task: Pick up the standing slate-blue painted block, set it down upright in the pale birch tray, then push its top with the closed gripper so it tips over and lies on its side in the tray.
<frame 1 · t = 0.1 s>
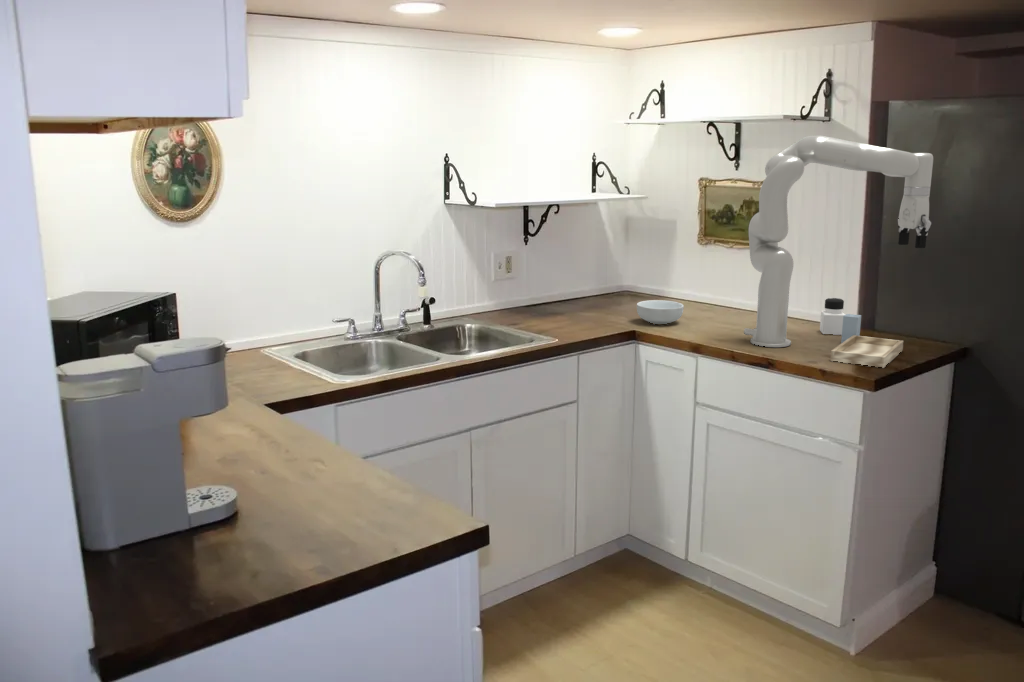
hand: (911, 246, 270), 31 cm above the worktop, tool pointing down, fingers open, 9 cm apart
medicine bottle: (831, 333, 289), on the worktop
tray: (867, 355, 257), on the worktop
cereal bowl: (659, 323, 308), on the worktop
block: (850, 342, 275), on the worktop
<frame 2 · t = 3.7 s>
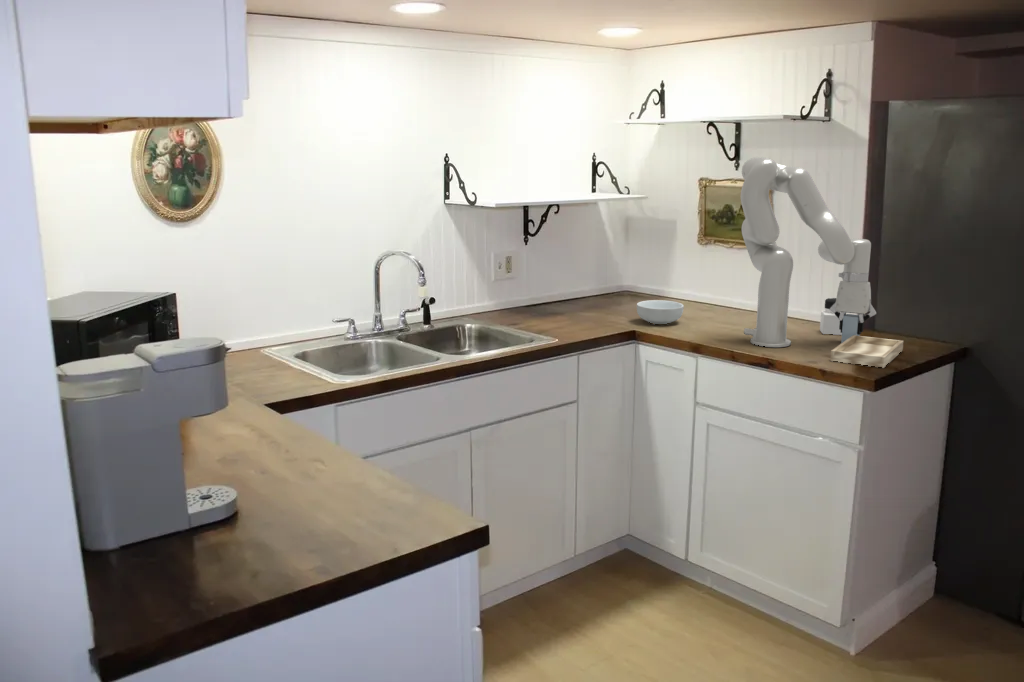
hand: (850, 332, 274), 3 cm above the worktop, tool pointing down, fingers closed on block, 4 cm apart
block: (850, 342, 275), on the worktop, touching gripper
everything else where it was.
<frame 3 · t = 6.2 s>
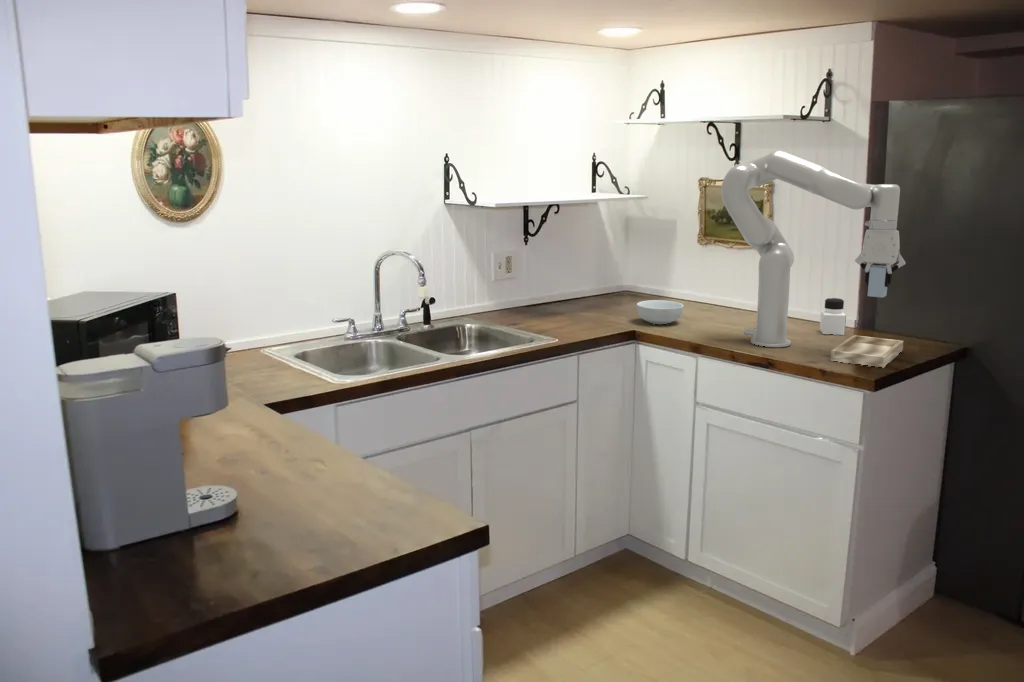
hand: (877, 284, 257), 21 cm above the worktop, tool pointing down, fingers closed on block, 4 cm apart
block: (876, 295, 258), point 18 cm above the worktop, touching gripper
everything else where it was.
when the fingers open (5 cm above the worktop, at t = 8.9 s): block stays where it is, resting on tray.
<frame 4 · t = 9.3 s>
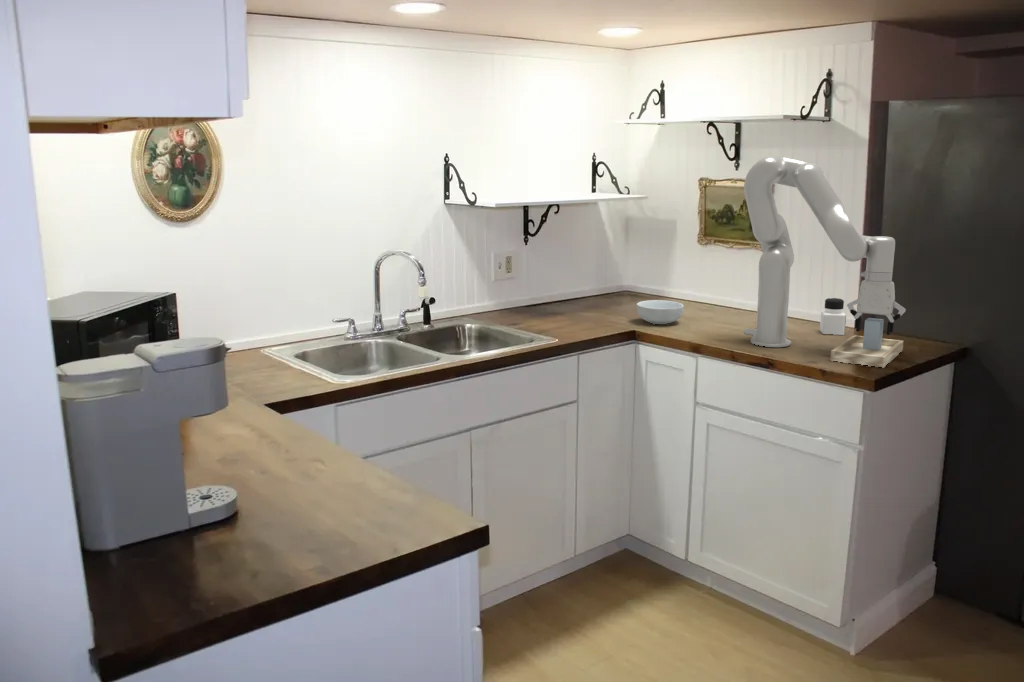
hand: (873, 332, 260), 6 cm above the worktop, tool pointing down, fingers open, 8 cm apart
block: (871, 348, 261), point 1 cm above the worktop, touching tray
everything else where it was.
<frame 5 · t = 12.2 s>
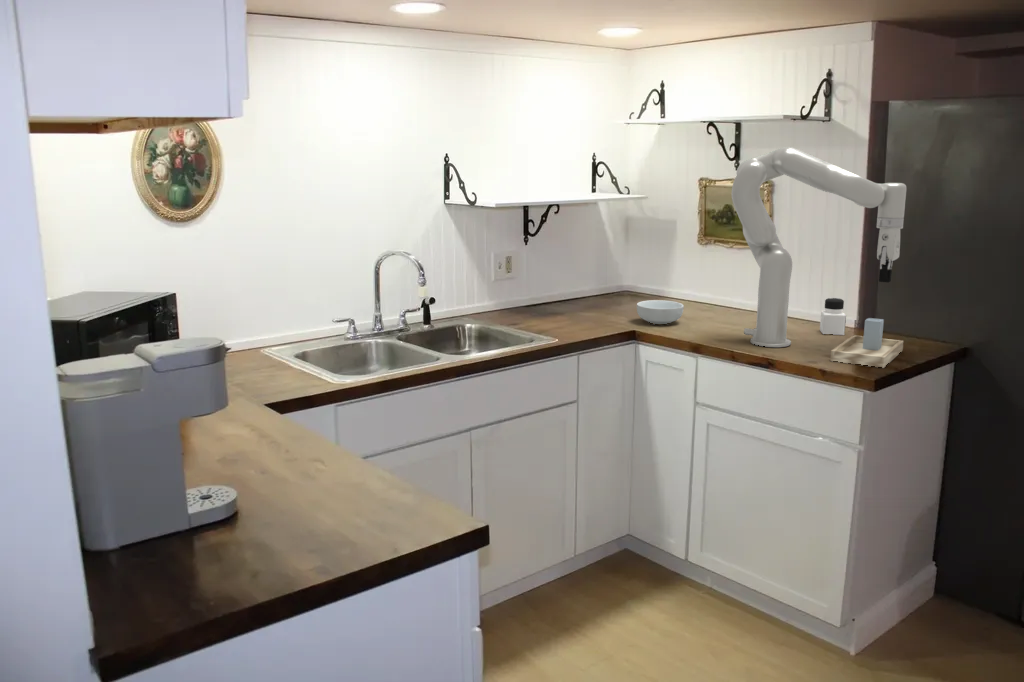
hand: (884, 281, 264), 21 cm above the worktop, tool pointing down, fingers closed
nothing on the worktop moved.
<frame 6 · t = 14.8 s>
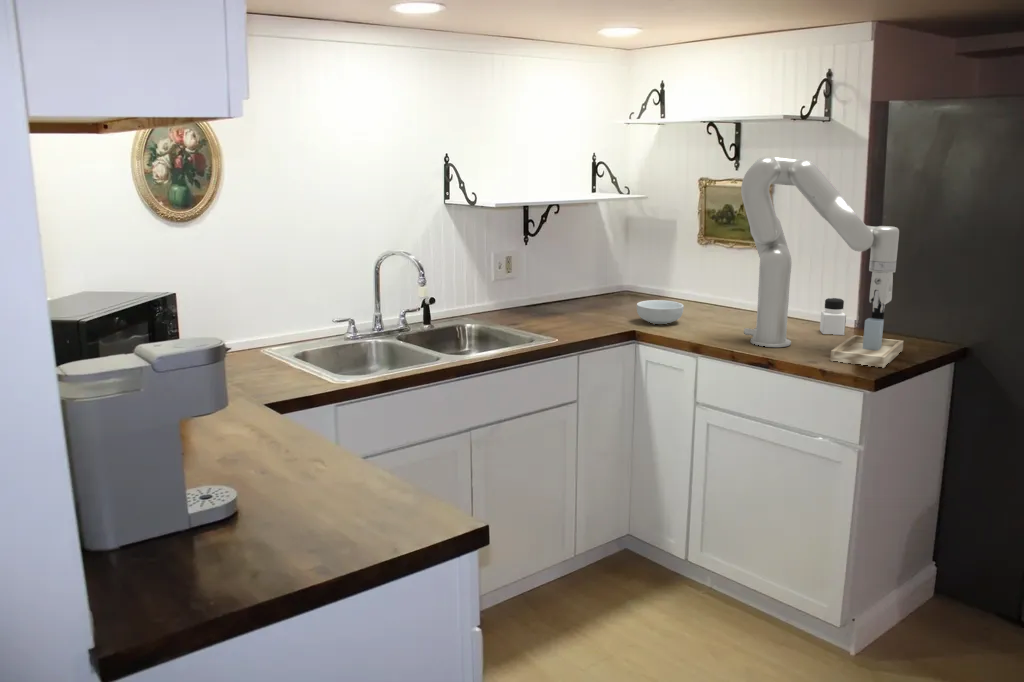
hand: (877, 324, 263), 8 cm above the worktop, tool pointing down, fingers closed
block: (871, 348, 261), point 1 cm above the worktop, touching gripper, tray
everything else where it was.
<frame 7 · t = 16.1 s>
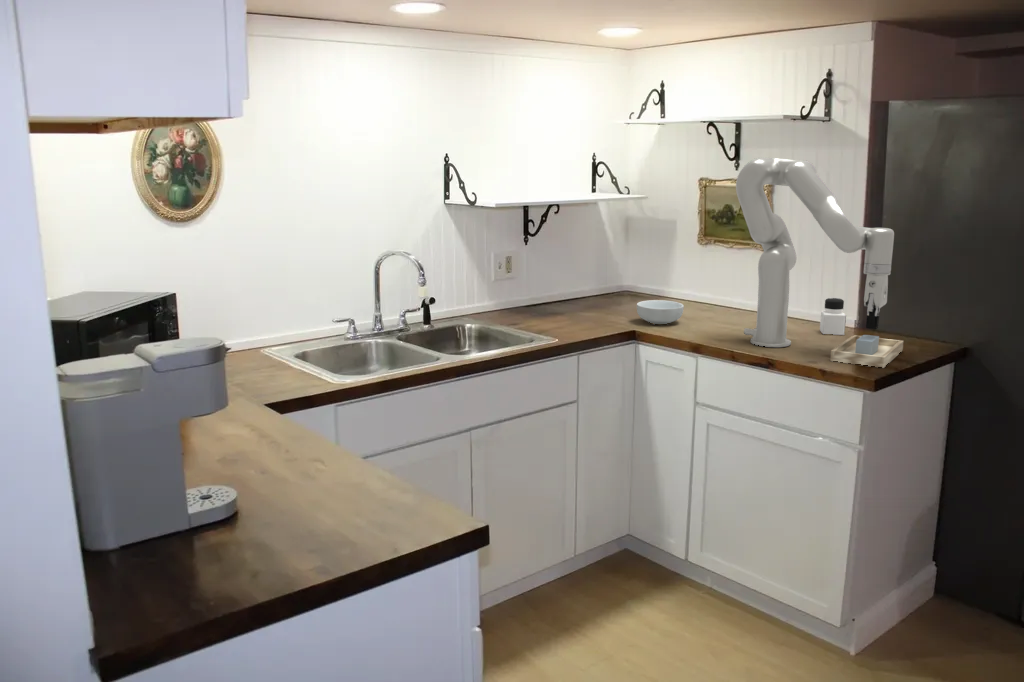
hand: (871, 328, 258), 8 cm above the worktop, tool pointing down, fingers closed
block: (870, 342, 259), point 3 cm above the worktop, tilted 90°, touching tray
everything else where it was.
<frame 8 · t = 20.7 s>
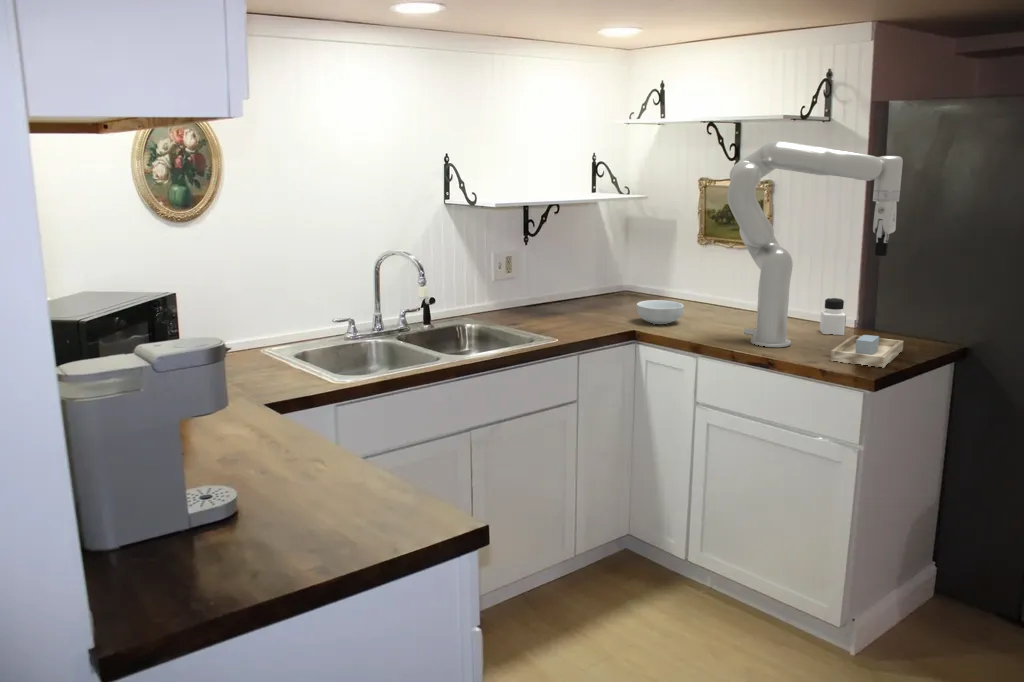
hand: (880, 255, 264), 29 cm above the worktop, tool pointing down, fingers closed
nothing on the worktop moved.
at the end: block tilted 90°; block inside the target area on the tray (3.8 cm from its centre), point 3.4 cm above the tray's base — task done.
